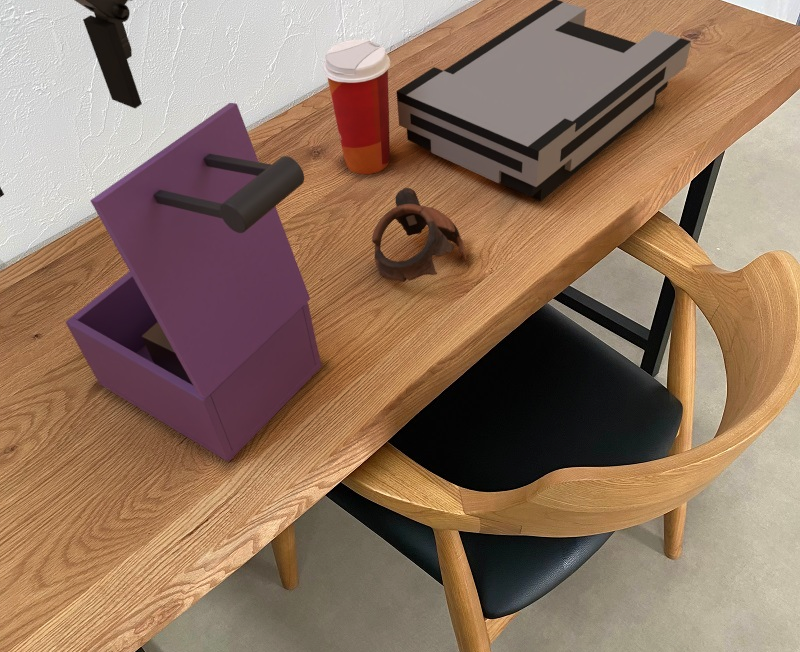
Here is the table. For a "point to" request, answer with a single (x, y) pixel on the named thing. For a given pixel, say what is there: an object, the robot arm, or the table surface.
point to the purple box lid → (209, 244)
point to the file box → (177, 399)
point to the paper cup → (360, 102)
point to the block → (163, 352)
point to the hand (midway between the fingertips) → (61, 144)
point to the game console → (539, 98)
